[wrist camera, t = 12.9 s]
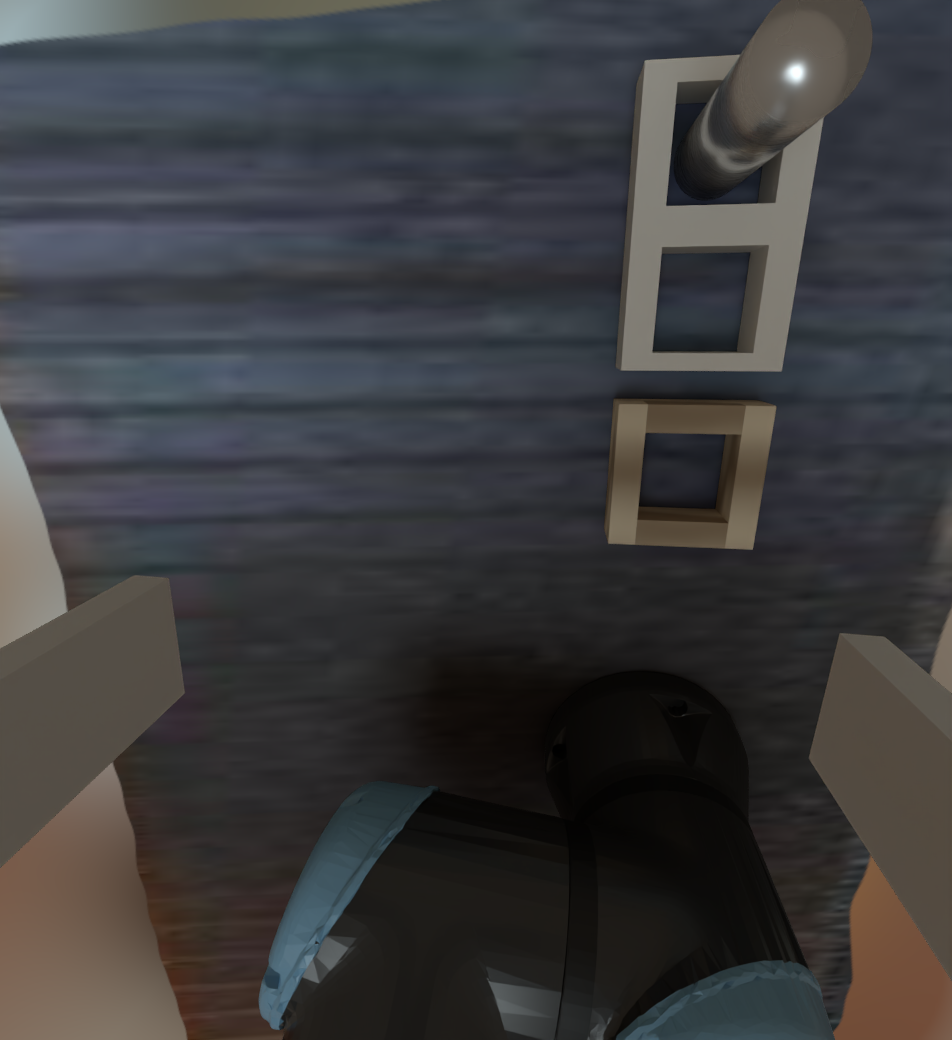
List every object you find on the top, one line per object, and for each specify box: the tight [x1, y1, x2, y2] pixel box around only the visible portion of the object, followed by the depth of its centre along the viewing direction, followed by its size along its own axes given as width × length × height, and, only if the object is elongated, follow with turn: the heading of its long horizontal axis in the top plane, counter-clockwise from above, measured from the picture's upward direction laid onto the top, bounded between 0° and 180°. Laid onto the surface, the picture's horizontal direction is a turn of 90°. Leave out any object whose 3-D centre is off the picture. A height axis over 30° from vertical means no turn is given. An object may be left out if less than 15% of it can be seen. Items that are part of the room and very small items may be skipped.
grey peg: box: [674, 0, 872, 201], centre depth 26 cm, size 4×4×13 cm
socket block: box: [604, 399, 777, 550], centre depth 36 cm, size 9×9×3 cm
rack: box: [616, 55, 824, 371], centre depth 32 cm, size 15×9×3 cm, turn 0°
